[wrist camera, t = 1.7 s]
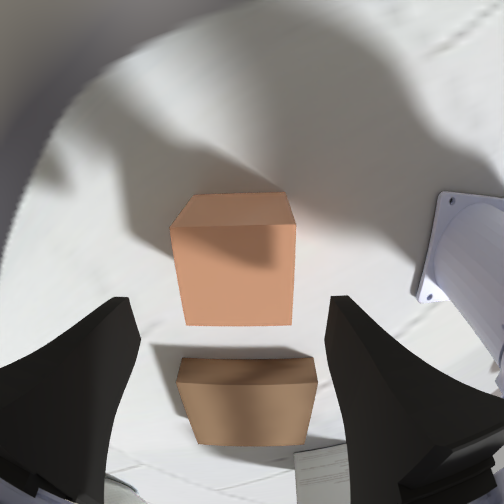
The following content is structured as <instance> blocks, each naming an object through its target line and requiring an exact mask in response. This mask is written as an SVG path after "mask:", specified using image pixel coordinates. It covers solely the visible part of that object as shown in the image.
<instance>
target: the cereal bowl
mask: <svg viewBox="0 0 504 504" xmlns="http://www.w3.org/2000/svg"><path fill="white" fill-rule="evenodd" d="M104 504H147V503H146V502H145V500H143V499H142V498H141V497H140V496H138V495H137V494H136V493H135V492H134V490H133V489H131V488H130V487H128V486H126V485H124V484H122V483H119V482H117V481H114V480H111V479H107V478H105V483H104Z"/></svg>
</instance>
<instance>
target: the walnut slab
mask: <svg viewBox="0 0 504 504" xmlns="http://www.w3.org/2000/svg"><path fill="white" fill-rule="evenodd" d="M176 384H177V387H178V390H179V393H180V396H181V399H182V402H183V405H184V408H185V410H186V413H187V416H188V419H189V421H190V424H191V427H192V429H193V432H194V435H195V437H196V440H197V442H198V444H204V445H220V446H288V445H303V444H304V443H305V439H306V435H307V431H308V426H309V422H310V418H311V413H312V409H313V404H314V400H315V395H316V390H317V385H318V380H317V374H316V369H315V363H314V358H313V357H311V358H291V359H199V358H182V361H181V365H180V368H179V372H178V376H177V380H176Z"/></svg>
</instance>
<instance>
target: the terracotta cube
mask: <svg viewBox="0 0 504 504" xmlns="http://www.w3.org/2000/svg"><path fill="white" fill-rule="evenodd" d="M169 228H170V235H171V242H172V249H173V255H174V261H175V268H176V274H177V279H178V285H179V291H180V296H181V301H182V307H183V312H184V317H185V322H186V325H187V326H283V325H292V308H293V290H294V269H295V243H296V223H295V220H294V217H293V214H292V211H291V208H290V205H289V202H288V199H287V196H286V193H285V192H262V193H225V194H201V195H193V196H192V198H191V199H190V200H189V202H188V203H187V204H186V206H185V207H184V208H183V210H182V211H181V212H180V214H179V215H178V216H177V218H176V219H175V221H174V222H173V223H172V225H171V226H170V227H169Z"/></svg>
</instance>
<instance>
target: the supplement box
mask: <svg viewBox="0 0 504 504" xmlns="http://www.w3.org/2000/svg"><path fill="white" fill-rule="evenodd" d="M294 465H295V479H296V494H297V504H350V476H349V463H348V453H347V444H342V445H337V446H333V447H328V448H323V449H317V450H312V451H306V452H299V453H294Z"/></svg>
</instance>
